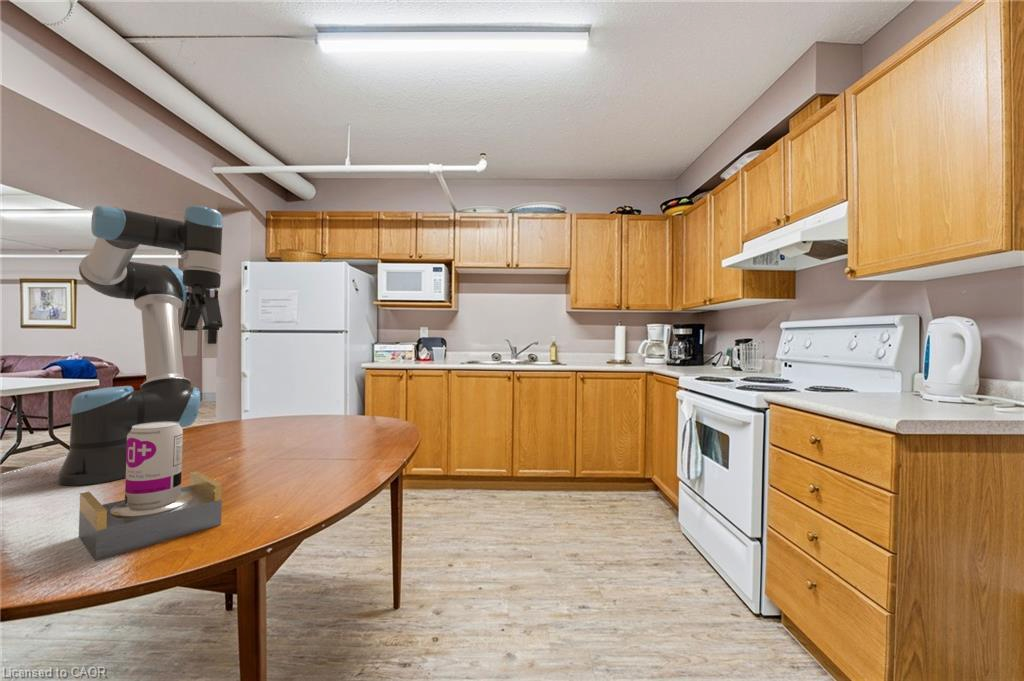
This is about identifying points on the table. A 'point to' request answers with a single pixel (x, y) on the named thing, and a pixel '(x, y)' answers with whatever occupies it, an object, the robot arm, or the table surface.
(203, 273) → the robot arm
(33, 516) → the table surface
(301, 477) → the table surface
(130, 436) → the supplement can
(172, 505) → the grey boxy piece
